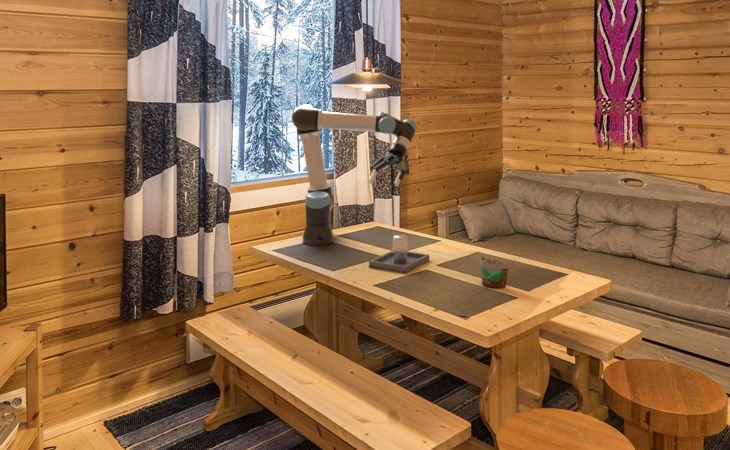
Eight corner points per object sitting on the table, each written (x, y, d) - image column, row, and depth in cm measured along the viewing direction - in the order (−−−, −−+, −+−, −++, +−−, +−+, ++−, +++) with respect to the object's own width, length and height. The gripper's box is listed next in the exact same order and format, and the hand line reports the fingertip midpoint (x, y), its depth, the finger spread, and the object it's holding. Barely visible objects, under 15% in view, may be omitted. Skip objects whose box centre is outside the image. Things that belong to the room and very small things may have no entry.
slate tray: (368, 266, 261) (368, 261, 261) (394, 254, 280) (394, 249, 279) (405, 273, 253) (405, 267, 252) (429, 260, 271) (429, 254, 270)
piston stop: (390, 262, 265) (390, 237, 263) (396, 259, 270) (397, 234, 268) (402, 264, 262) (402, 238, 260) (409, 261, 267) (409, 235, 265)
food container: (471, 284, 239) (472, 259, 236) (481, 281, 243) (482, 255, 241) (499, 292, 230) (500, 265, 228) (508, 288, 234) (510, 262, 232)
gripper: (425, 154, 295) (409, 190, 286) (379, 151, 308) (363, 185, 298) (420, 144, 289) (404, 180, 280) (374, 141, 302) (357, 176, 293)
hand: (383, 183), depth 289 cm, fingers open, 13 cm apart
